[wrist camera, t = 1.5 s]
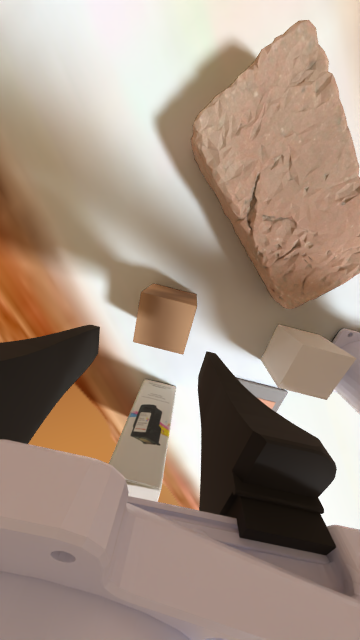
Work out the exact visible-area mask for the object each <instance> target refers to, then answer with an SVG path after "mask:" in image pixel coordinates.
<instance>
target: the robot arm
mask: <svg viewBox="0 0 360 640" xmlns="http://www.w3.org/2000/svg"><path fill="white" fill-rule="evenodd" d="M99 331H100V327H98V326H94V325H86V326H82V327H78V328H74V329H70V330H66V331H62V332H59V333H54V334H50V335H46V336H41V337H37V338H31V339H26V340H19V341H13V342H4V343H0V640H360V530H358V529H354V528H349V527H344V526H339V525H331V526H327V527H326V525H325V523H324V521H323V519H322V517H321V515H320V514H323V513H324V508H323V506H322V504H321V503H320V501H319V499H318V497H319V496H320V495H321V493H322V492H323V491H324V490H325V489H326V488H327V487H328V486H329V485H330V484H331V482H332V481H333V480H334V478H335V474H336V470H337V469H336V465H335V462H334V461H333V459H332V458H331V456H330V455H329V453H328V452H327V451H326V449H325V448H324V446H323V445H322V443H321V442H320V440H319V439H318V438H316V437H315V436H313V435H311V434H309V433H308V432H306V431H304V430H303V429H301V428H299V427H298V426H296V425H294V424H293V423H291V422H290V421H288V420H287V419H285V418H284V417H282V416H280V415H279V414H278V413H276V412H275V411H273V410H272V409H271V408H269V407H268V406H267V405H265V404H264V403H263V402H262V401H260V400H259V399H258V398H257V397H255V396H254V395H253V394H252V393H251V392H250V391H249V390H248V389H247V388H245V387H244V386H243V385H242V384H241V383H240V381H239V380H238V379H237V378H236V377H235V376H234V375H233V374H232V373H231V372H230V370H229V369H228V368H227V367H226V366H225V364H224V363H223V362H222V361H221V359H220V358H219V357H218V356H217V355H216V354H215V353H211V352H207V351H206V355H205V358H204V361H203V364H202V367H201V370H200V373H199V376H198V396H199V406H200V417H201V484H200V507H199V511H198V510H194V509H189V508H184V507H179V506H174V505H169V504H165V503H160V502H155V501H151V500H146V499H141V498H136V497H132V496H128V493H129V491H128V487H127V483H126V480H125V478H124V476H123V475H122V474H121V473H120V472H119V471H118V470H117V469H116V468H114V467H113V466H112V465H110V464H107V463H105V462H102V461H100V460H97V459H95V458H90V457H85V456H80V455H75V454H71V453H66V452H62V451H57V450H52V449H48V448H43V447H38V446H34V445H29V444H28V443H29V441H30V440H31V438H32V437H33V435H34V434H35V432H36V431H37V430H38V428H39V427H40V425H41V424H42V423H43V421H44V420H45V418H46V417H47V415H48V414H49V413H50V411H51V410H52V409H53V407H54V406H55V405H56V403H57V402H58V401H59V399H60V398H61V397H62V396H63V395H64V393H65V392H66V391H67V390H68V389H69V388H70V387H71V386H72V385H73V384H74V382H75V381H76V380H77V379H78V378H79V377H80V376H81V375H82V374H83V373H84V372H85V370H86V369H87V368H88V367H89V366H90V365H91V363H92V362H93V360H94V359H95V357H96V356H97V354H98V348H99ZM349 333H350V334H349ZM348 334H349V335H348ZM332 343H333V344H335V345H336V346H338V347H339V348H341V349H343V350H344V351H346V352H347V353H349V354H350V355H352V356H354V357H355V358H357V359H356V360H355V361H354V363H353V364H352V365H351V367H350V368H349V370H348V371H347V372H346V374H345V375H344V377H343V378H342V379H341V381H340V382H339V383H338V385H337V386H336V388H335V389H334V390H333V391H334V392H337V393H338V394H339V395H340V396H341V397H342V398H343V399H345V400H346V401H347V402H348V403H349V404H350V405H351V406H352V407H353V408H354V409H355V410H356V411H357V412H358V413H359V414H360V332H357V331H353V330H349V329H341V330H340V331H339V332H338V334H337V336H336V337H335V339H334V340H333V342H332Z"/></svg>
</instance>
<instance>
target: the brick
mask: <svg viewBox="0 0 360 640" xmlns="http://www.w3.org/2000/svg"><path fill="white" fill-rule="evenodd" d="M328 64H329V61H328V58H327V56H326V54H325V51H324V50H323V49H322V48H321V47H320V45H319V44H318V39H317V33H316V28H315V26H314V25H313V24H312V23H311V22H310V21H309V20H302V21H298V22H297V23H295V24H294V25H293V26H291V27H290V28H289V29H288V30H287V31H286V32H285V33H284V34H283V35H280V36H278V37H276V38H275V39H274V41H273V43H271V44H270V45H268V46H266V47H265V48H263V49H262V50H261V52H260V53H259V55H258V56H257V58H256V60H255V61H254V62H253V63H252V64H251V65H250V66H249V67H248V68H247V69H246V71H244V72H243V73H241V74H240V75H239V76H238V78H237V79H236V80H235V81H234V82H233V83H232V84H231V85H230V86H229V87H228V88H227V89H225V90H224V91H222V92H221V93H219V94H218V95H216V96H215V97H214V98H213V100H212V101H211V102H210V103H209V104H208V105H207V106H206V107H205V108H204V109H203V110H202V111H201V112H199V114H198V116H197V117H196V119H195V121H194V124H193V131H194V132H193V136H192V138H191V143H192V149H193V153H194V156H195V160H196V162H197V163H198V166H199V168H200V171H201V173H202V174H203V176H204V177H205V179H206V181H207V182H208V184H209V185H210V187H211V188H212V190H213V191H214V192H215V193H216V196H217V198H218V199H219V201H220V204H221V206H222V209H223V211H224V214H225V215H226V216H227V217H228V218H229V220H230V221H231V223H232V225H233V228H234V231H235V233H236V234H237V236H238V237H239V239H240V241H241V243H242V245H243V246H244V248H245V250H246V252H247V254H248V256H249V258H250V260H251V261H252V262H253V264H254V266H255V268H256V270H257V271H258V273H259V275H260V277H261V278H262V280H263V282H264V284H265V285H266V287H267V290H268V291H269V293H270V295H271V296H272V298H273V299H274V300H275V301H276V302H277V303H279V304H280V305H281V306H283V307H284V308H287V309H293V308H296V307H298V306H300V305H302V304H304V303H305V302H307V301H309V300H314V299H316V298H317V297H319V296H321V295H323V294H324V293H326V292H328V291H330V290H332V289H334V288H336V287H338V286H340V285H342V284H344V283H345V282H347V281H348V280H350V279H351V278H353V277H354V276H355V275H357V274H359V273H360V177H359V176H358V174H359V164H358V161H357V157H356V153H355V149H354V145H353V141H352V137H351V134H350V131H349V128H348V126H347V121H346V117H345V113H344V110H343V106H342V104H341V101H340V99H339V91H338V87H337V84H336V81H335V78H334V76H333V74H332V73H330V72H328Z"/></svg>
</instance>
